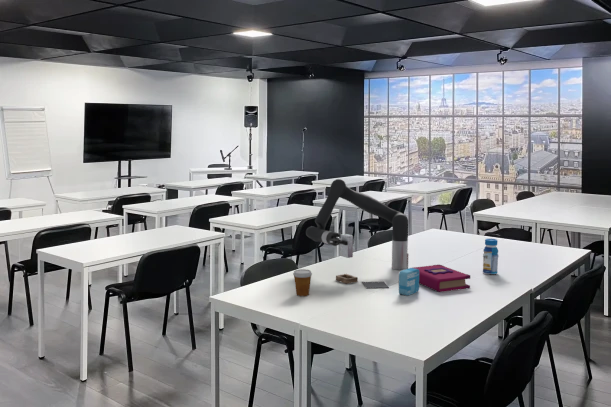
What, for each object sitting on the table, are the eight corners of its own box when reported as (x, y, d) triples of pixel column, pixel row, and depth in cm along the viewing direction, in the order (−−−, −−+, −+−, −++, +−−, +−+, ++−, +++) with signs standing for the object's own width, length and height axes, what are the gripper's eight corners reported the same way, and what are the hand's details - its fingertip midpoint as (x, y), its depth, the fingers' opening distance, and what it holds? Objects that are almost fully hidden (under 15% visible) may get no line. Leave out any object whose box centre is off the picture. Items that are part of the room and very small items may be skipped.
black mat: (384, 282, 304) (384, 281, 304) (388, 287, 292) (388, 287, 292) (362, 282, 303) (362, 281, 303) (366, 288, 291) (366, 287, 291)
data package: (406, 296, 277) (406, 272, 275) (398, 294, 280) (398, 271, 278) (419, 291, 285) (419, 268, 284) (411, 289, 288) (412, 267, 287)
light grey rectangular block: (340, 256, 306) (340, 234, 304) (345, 255, 308) (345, 233, 306) (347, 257, 301) (347, 236, 300) (352, 257, 303) (352, 235, 302)
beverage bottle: (498, 275, 316) (500, 241, 314) (483, 274, 318) (484, 240, 316) (496, 272, 325) (498, 238, 322) (481, 271, 326) (482, 237, 324)
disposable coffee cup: (298, 298, 274) (298, 274, 273) (290, 293, 282) (289, 270, 281) (315, 295, 278) (315, 272, 277) (306, 290, 287) (306, 268, 285)
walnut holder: (335, 280, 308) (335, 275, 308) (346, 278, 312) (346, 273, 312) (347, 283, 300) (347, 279, 300) (357, 281, 304) (357, 277, 304)
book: (437, 293, 283) (438, 278, 283) (407, 280, 309) (408, 266, 308) (471, 288, 291) (471, 274, 290) (439, 276, 317) (439, 263, 316)
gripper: (321, 232, 311) (339, 237, 297) (340, 230, 319) (360, 234, 305) (321, 246, 312) (339, 251, 298) (340, 243, 320) (360, 248, 306)
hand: (350, 243), depth 301 cm, fingers closed on light grey rectangular block, 3 cm apart
